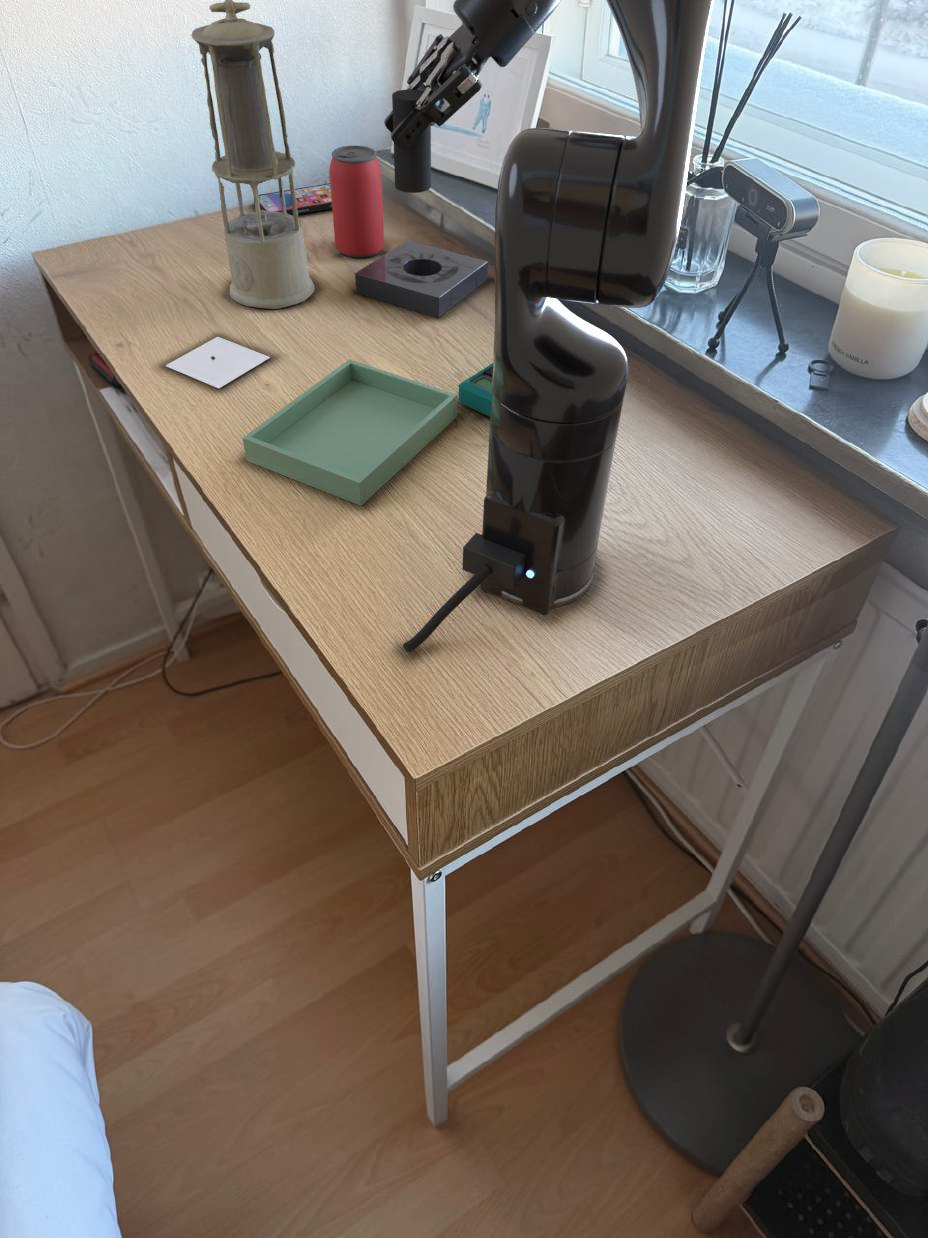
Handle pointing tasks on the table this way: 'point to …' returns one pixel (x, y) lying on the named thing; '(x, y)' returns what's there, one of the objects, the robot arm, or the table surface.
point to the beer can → (357, 201)
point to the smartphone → (299, 200)
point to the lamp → (252, 164)
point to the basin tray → (351, 430)
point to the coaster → (217, 362)
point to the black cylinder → (411, 148)
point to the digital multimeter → (478, 391)
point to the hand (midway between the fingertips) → (394, 137)
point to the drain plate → (421, 278)
